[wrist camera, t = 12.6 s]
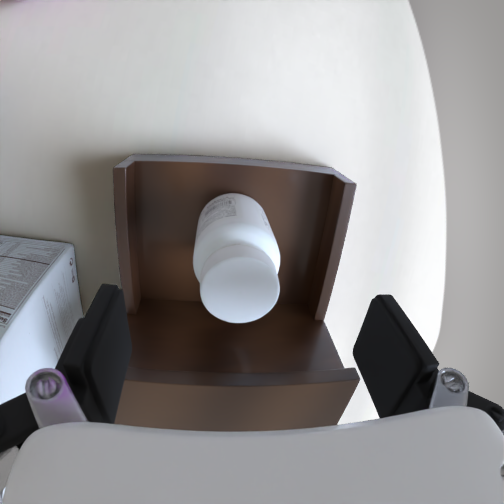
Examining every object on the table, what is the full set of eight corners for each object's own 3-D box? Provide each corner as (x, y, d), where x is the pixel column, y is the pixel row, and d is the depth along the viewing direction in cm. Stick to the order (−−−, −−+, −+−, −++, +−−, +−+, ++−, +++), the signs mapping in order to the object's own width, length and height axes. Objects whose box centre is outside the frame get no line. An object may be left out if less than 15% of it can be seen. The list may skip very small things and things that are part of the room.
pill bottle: (189, 243, 21) (176, 317, 14) (212, 181, 19) (208, 231, 12) (250, 263, 22) (265, 341, 15) (277, 206, 20) (309, 266, 13)
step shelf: (334, 168, 22) (419, 226, 12) (297, 341, 29) (328, 440, 19) (130, 154, 20) (57, 204, 10) (142, 337, 27) (120, 440, 17)
